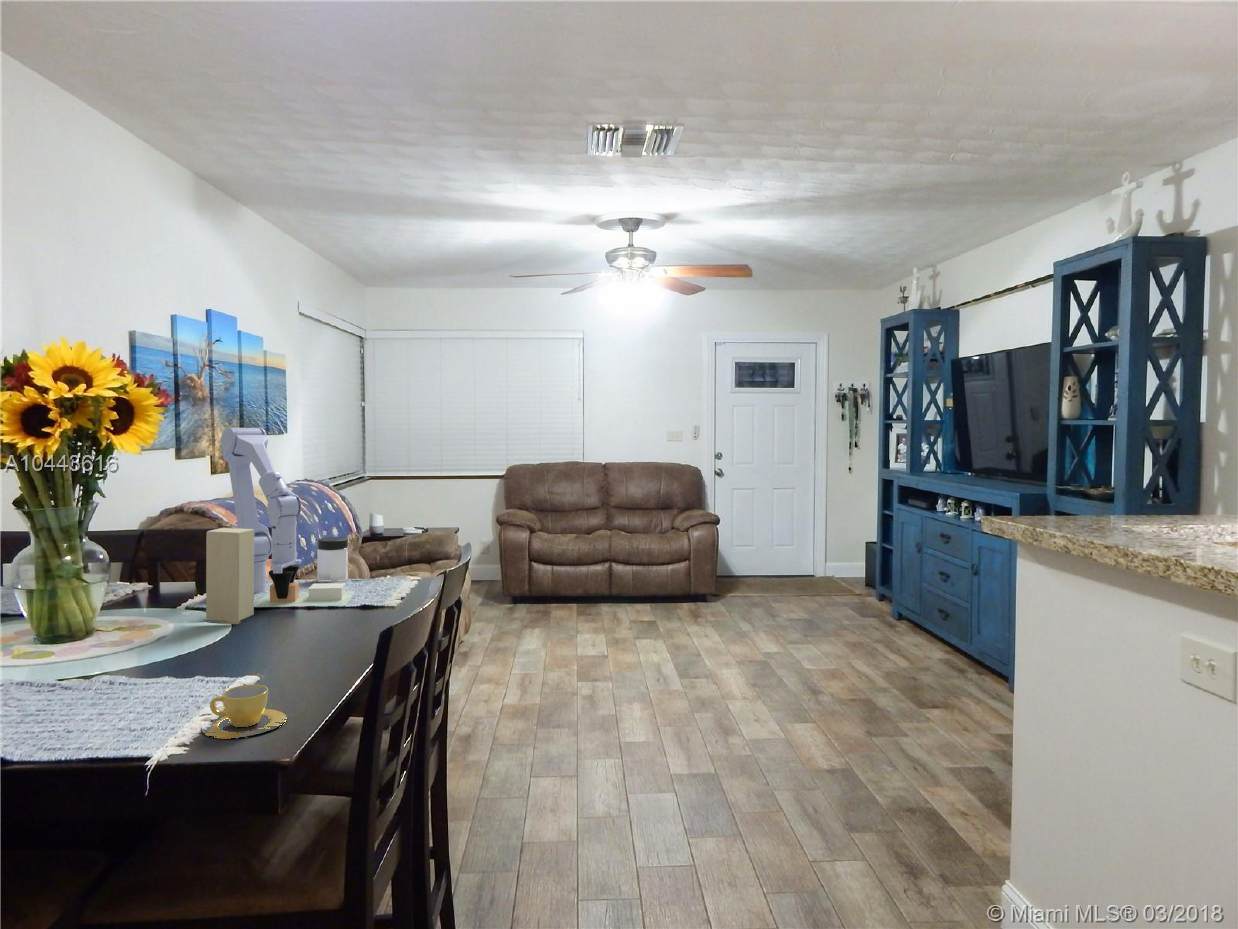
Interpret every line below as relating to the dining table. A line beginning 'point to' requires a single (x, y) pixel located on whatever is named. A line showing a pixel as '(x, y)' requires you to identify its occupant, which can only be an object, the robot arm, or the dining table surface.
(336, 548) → the jar
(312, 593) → the base brick
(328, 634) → the dining table surface
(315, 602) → the baseplate
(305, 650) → the dining table surface
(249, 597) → the beige tall rectangular block
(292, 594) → the top brick
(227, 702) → the cup
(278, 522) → the robot arm
